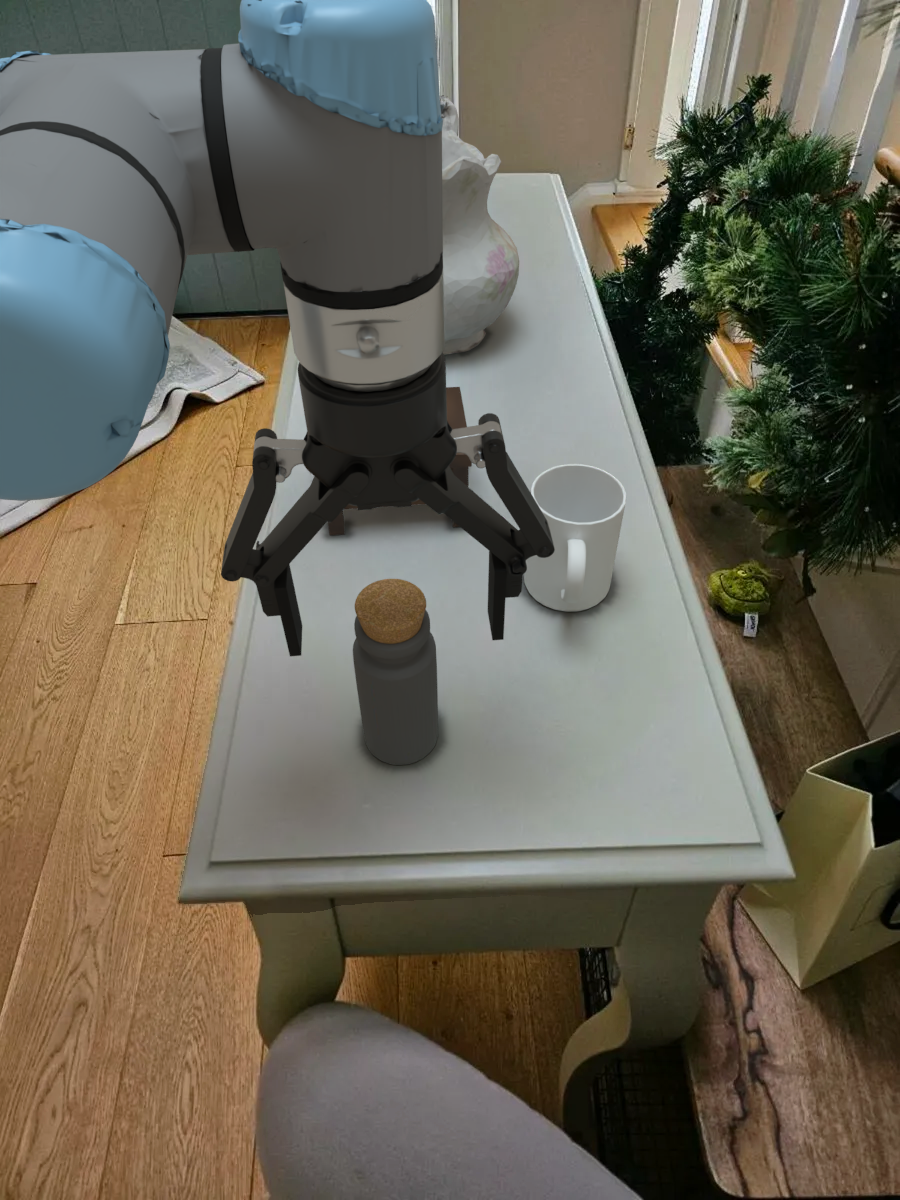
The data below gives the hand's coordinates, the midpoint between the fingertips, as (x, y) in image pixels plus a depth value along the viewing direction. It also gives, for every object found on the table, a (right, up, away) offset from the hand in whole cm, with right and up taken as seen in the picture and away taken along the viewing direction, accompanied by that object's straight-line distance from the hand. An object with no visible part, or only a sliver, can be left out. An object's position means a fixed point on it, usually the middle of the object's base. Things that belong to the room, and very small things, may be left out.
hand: (396, 633), depth 58 cm
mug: (+14, +2, +19) cm, 24 cm away
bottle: (0, -8, +9) cm, 12 cm away
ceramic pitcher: (+2, +37, +52) cm, 64 cm away
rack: (-2, +13, +29) cm, 31 cm away
